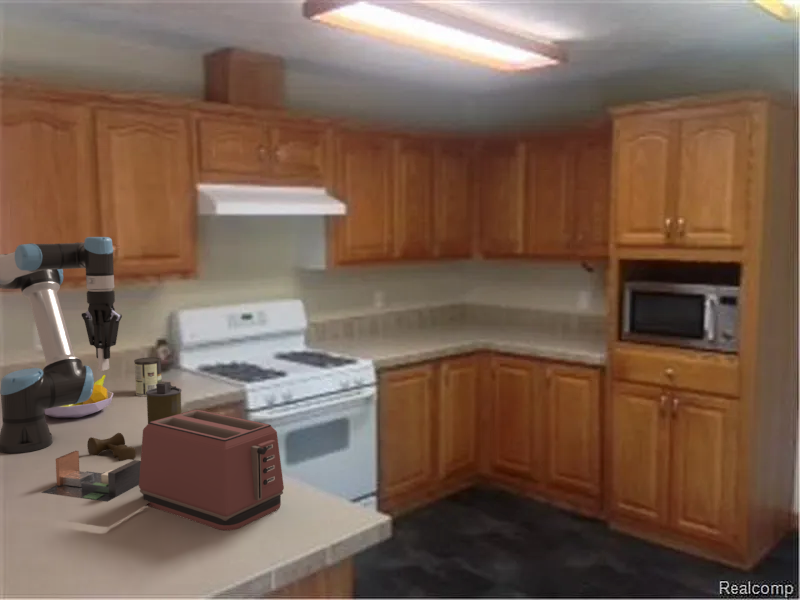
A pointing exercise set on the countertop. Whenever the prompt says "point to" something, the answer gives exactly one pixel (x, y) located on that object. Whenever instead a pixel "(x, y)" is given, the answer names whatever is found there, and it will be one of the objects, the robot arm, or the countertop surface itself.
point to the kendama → (112, 447)
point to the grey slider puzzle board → (103, 484)
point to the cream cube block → (105, 477)
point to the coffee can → (147, 374)
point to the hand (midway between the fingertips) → (103, 369)
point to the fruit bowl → (84, 403)
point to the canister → (163, 401)
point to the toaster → (211, 468)
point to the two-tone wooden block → (71, 471)
